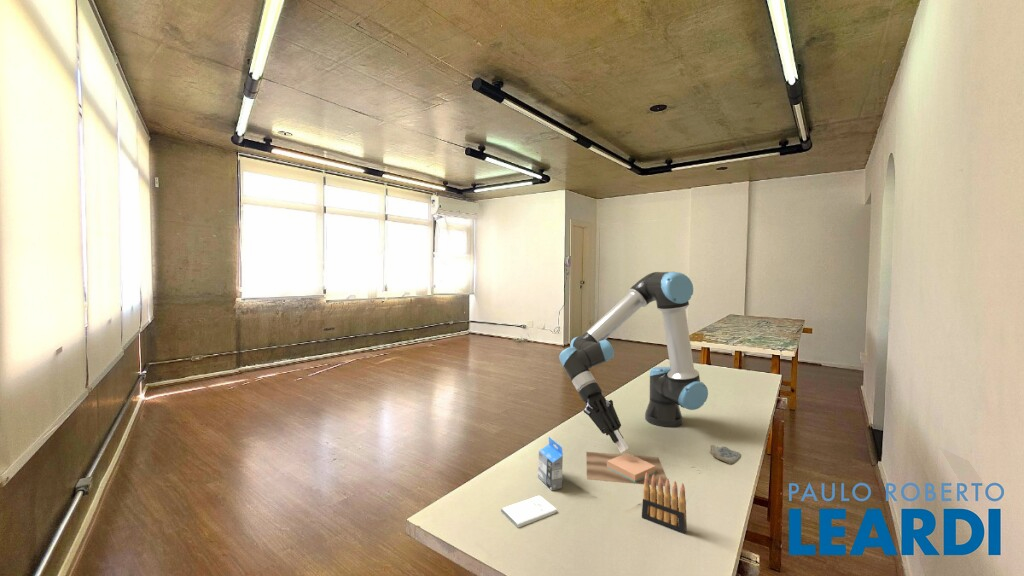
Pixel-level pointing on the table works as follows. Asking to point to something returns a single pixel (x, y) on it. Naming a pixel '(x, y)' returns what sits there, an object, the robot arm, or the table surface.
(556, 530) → the table surface
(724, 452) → the ceramic fragment
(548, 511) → the external hard drive
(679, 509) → the ammunition clip
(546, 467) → the label tape box
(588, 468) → the board
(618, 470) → the tile
